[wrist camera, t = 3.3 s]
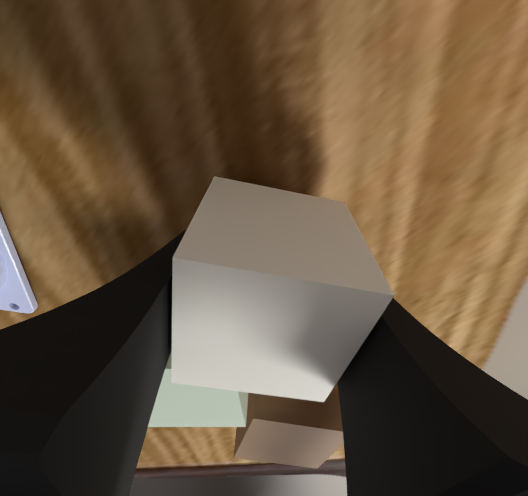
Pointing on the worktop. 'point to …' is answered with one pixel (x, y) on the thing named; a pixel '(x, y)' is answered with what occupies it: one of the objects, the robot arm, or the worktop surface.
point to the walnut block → (290, 430)
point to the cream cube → (271, 292)
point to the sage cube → (197, 405)
